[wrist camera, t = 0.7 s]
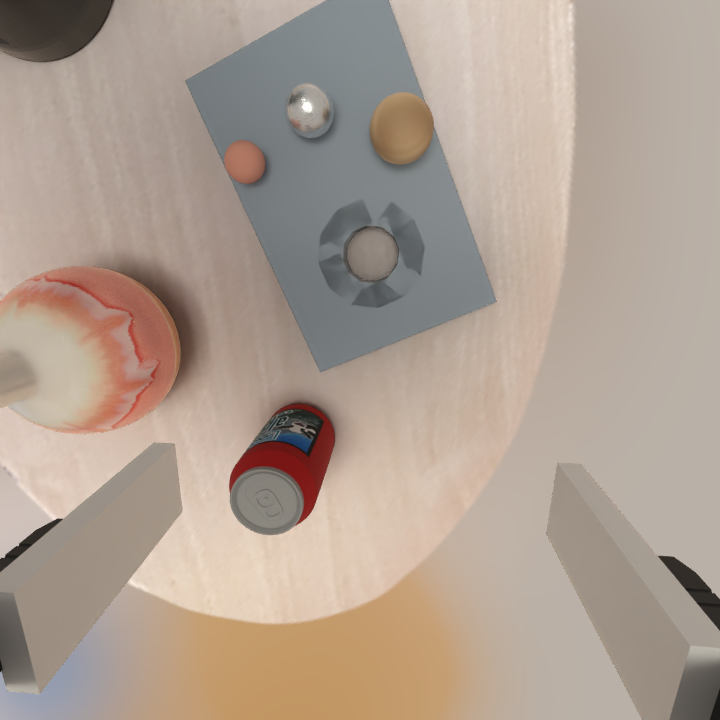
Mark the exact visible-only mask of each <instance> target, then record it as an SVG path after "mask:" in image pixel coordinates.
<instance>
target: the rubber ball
mask: <svg viewBox="0 0 720 720" xmlns="http://www.w3.org/2000/svg"><path fill="white" fill-rule="evenodd" d="M224 163H225V167H226V170H227V172H228V173H229V175H230V176H231V177H232V178H233V179H235V180H236V181H238V182H240V183H244V184H250V183H254V182H256V181H257V180H259V179H260V178H261V176H262V175H263V173H264V170H265V158H264V155H263V153H262V151H261V150H260V149H259V147H258V146H256V145H255V144H254V143H252V142H250V141H246V140H239V141H236V142H234V143H232V144H231V145H230V146H229V147H228V148H227V150H226V152H225V156H224Z"/></svg>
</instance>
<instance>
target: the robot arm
mask: <svg viewBox="0 0 720 720" xmlns="http://www.w3.org/2000/svg"><path fill="white" fill-rule="evenodd" d="M111 3H112V0H0V50H1V51H3V52H5V53H7V54H9V55H11V56H14V57H17V58H20V59H24V60H30V61H51V60H56V59H60V58H63V57H65V56H68V55H70V54H72V53H74V52H75V51H77V50H78V49H80V48H81V47H83V46H84V45H85V44H86V43H87V42H88V41H89V40H90V39H91V38H92V37H93V36H94V35H95V33H96V32H97V31H98V29H99V28H100V26H101V25H102V23H103V21H104V19H105V17H106V15H107V13H108V11H109V8H110V6H111ZM181 513H182V502H181V494H180V485H179V476H178V468H177V459H176V450H175V444H170V443H153V444H152V445H151V446H149V447H148V448H147V449H146V450H145V451H143V452H142V453H141V454H140V455H139V456H138V457H136V458H135V459H134V460H133V461H132V462H130V463H129V464H128V465H127V466H126V467H124V468H123V469H122V470H121V471H120V472H119V473H117V474H116V475H115V476H114V477H113V478H111V479H110V480H109V481H108V482H107V483H106V484H104V485H103V486H102V487H101V488H100V489H98V490H97V491H96V492H95V493H94V494H92V495H91V496H90V497H89V498H88V499H87V500H85V501H84V502H83V503H82V504H81V505H79V506H78V507H77V508H76V509H75V510H73V511H72V512H71V513H70V514H69V515H68V516H66V517H65V518H64V519H56V520H54V521H52V522H50V523H48V524H47V525H45V526H43V527H41V528H39V529H37V530H36V531H34V532H33V533H32V534H31V535H30V536H28V537H27V538H26V539H24V540H23V541H22V542H21V543H20V544H19V546H16V547H15V548H13V549H12V550H11V551H10V552H9V553H7V554H6V556H5V558H1V559H0V672H1V671H2V674H3V678H4V681H5V685H6V688H7V691H11V692H22V693H32V694H40V693H41V692H42V691H43V689H44V688H45V687H46V685H47V684H48V683H49V682H50V680H51V679H52V678H53V676H54V675H55V674H56V673H57V671H58V670H59V669H60V668H61V666H62V665H63V664H64V662H65V661H66V660H67V659H68V657H69V656H70V655H71V653H72V652H73V651H74V649H75V648H76V647H77V646H78V644H79V643H80V642H81V641H82V639H83V638H84V637H85V635H86V634H87V633H88V631H89V630H90V629H91V628H92V627H93V625H94V624H95V623H96V621H97V620H98V619H99V617H100V616H101V615H102V614H103V612H104V611H105V610H106V609H107V607H108V606H109V605H110V603H111V602H112V601H113V600H114V598H115V597H116V596H117V595H118V593H119V592H120V590H121V589H122V588H123V587H124V586H125V584H126V583H127V582H128V580H129V579H130V578H131V577H132V575H133V574H134V573H135V571H136V570H137V569H138V568H139V566H140V565H141V564H142V563H143V561H144V560H145V559H146V557H147V556H148V555H149V554H150V552H151V551H152V550H153V548H154V547H155V546H156V545H157V543H158V542H159V541H160V539H161V538H162V537H163V536H164V534H165V533H166V532H167V530H168V529H169V528H170V527H171V525H172V524H173V523H174V522H175V520H176V519H177V518H178V516H179V515H180V514H181ZM546 534H547V536H548V538H549V540H550V542H551V543H552V546H553V548H554V550H555V552H556V553H557V555H558V557H559V559H560V561H561V563H562V565H563V567H564V569H565V571H566V573H567V575H568V577H569V579H570V581H571V583H572V585H573V587H574V589H575V590H576V592H577V594H578V596H579V598H580V600H581V602H582V604H583V606H584V608H585V610H586V612H587V614H588V615H589V618H590V620H591V622H592V623H593V625H594V627H595V629H596V631H597V633H598V635H599V637H600V639H601V641H602V643H603V645H604V647H605V649H606V651H607V653H608V654H609V656H610V658H611V660H612V662H613V664H614V666H615V668H616V670H617V672H618V674H619V676H620V678H621V680H622V682H623V684H624V686H625V687H626V689H627V691H628V693H629V695H630V697H631V699H632V701H633V703H634V705H635V707H636V709H637V711H638V713H639V715H640V717H641V718H642V720H720V599H719V598H718V597H717V596H716V594H714V593H712V592H711V589H710V588H709V587H708V586H707V585H706V583H705V582H704V581H703V580H702V579H701V578H700V577H699V576H698V575H697V574H696V572H694V571H693V570H691V569H690V568H689V567H687V566H686V565H684V564H683V563H682V562H680V561H679V560H677V559H676V558H675V557H669V556H657V555H656V554H655V552H654V551H653V550H652V549H651V548H650V546H649V545H648V544H647V543H646V542H645V540H644V539H643V538H642V537H641V535H639V533H638V532H637V531H636V530H635V528H634V527H633V526H632V525H631V523H630V522H629V521H628V520H627V519H626V517H625V516H624V515H623V514H622V513H621V511H620V510H619V509H618V508H617V507H616V506H615V504H614V503H613V502H612V501H611V499H610V498H609V497H608V496H607V495H606V493H605V492H604V491H603V490H602V489H601V487H600V486H599V485H598V484H597V483H596V482H595V480H594V479H593V478H592V476H591V475H590V474H589V473H588V472H587V471H586V469H585V468H584V467H583V466H582V465H581V464H570V463H557V468H556V474H555V480H554V487H553V493H552V500H551V506H550V513H549V519H548V525H547V532H546Z"/></svg>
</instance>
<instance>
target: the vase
mask: <svg viewBox="0 0 720 720" xmlns="http://www.w3.org/2000/svg"><path fill="white" fill-rule="evenodd" d="M180 357H181V348H180V339H179V335H178V331H177V328H176V326H175V323H174V321H173V318H172V317H171V315H170V313H169V312H168V310H167V308H166V307H165V306H164V304H163V303H162V302H161V301H160V299H159V298H158V297H157V296H155V295H154V294H153V293H152V292H151V291H150V290H149V289H148V288H147V287H145V286H144V285H142V284H141V283H140V282H138V281H136V280H134V279H132V278H130V277H129V276H127V275H124V274H122V273H119V272H116V271H113V270H110V269H105V268H99V267H93V266H71V267H65V268H59V269H54V270H50V271H47V272H44V273H41V274H39V275H36V276H34V277H31V278H29V279H28V280H26V281H24V282H23V283H21V284H19V285H18V286H16V287H15V288H13V289H12V290H11V291H10V292H9V293H8V294H7V295H6V296H5V297H4V298H3V299H2V300H1V301H0V408H3V407H6V406H8V407H9V408H10V409H11V410H12V411H13V412H15V413H16V414H18V415H19V416H21V417H22V418H24V419H26V420H28V421H30V422H32V423H34V424H36V425H38V426H41V427H44V428H47V429H50V430H53V431H58V432H63V433H71V434H93V433H102V432H107V431H111V430H115V429H118V428H121V427H124V426H127V425H129V424H131V423H133V422H135V421H137V420H139V419H141V418H143V417H144V416H146V415H147V414H148V413H150V412H151V411H152V410H154V409H155V408H156V407H157V406H158V405H159V404H160V403H161V402H162V401H163V400H164V398H165V397H166V396H167V395H168V393H169V391H170V390H171V388H172V387H173V384H174V382H175V380H176V377H177V375H178V371H179V366H180Z"/></svg>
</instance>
